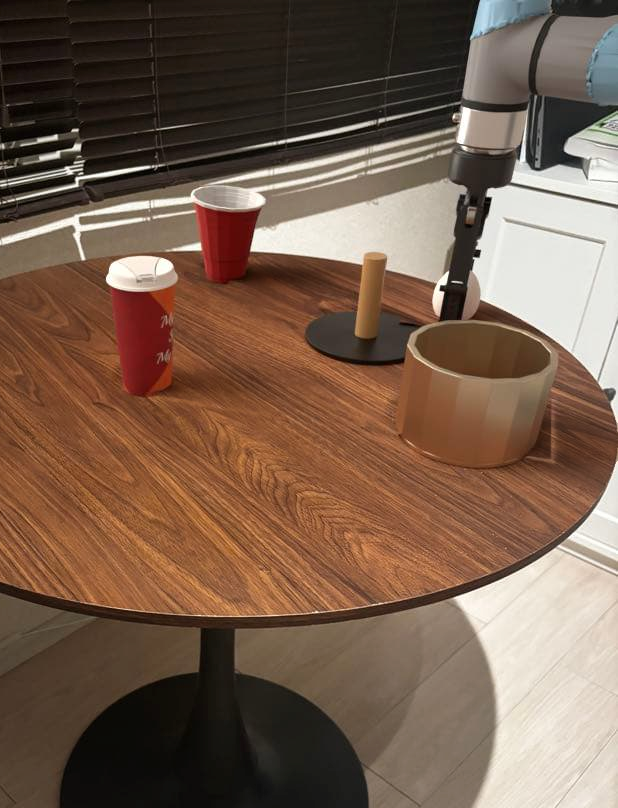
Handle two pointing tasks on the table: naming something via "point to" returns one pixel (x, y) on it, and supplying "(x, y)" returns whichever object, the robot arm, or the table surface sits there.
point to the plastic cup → (226, 228)
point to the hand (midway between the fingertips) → (450, 322)
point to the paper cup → (144, 321)
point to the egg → (471, 297)
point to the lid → (363, 324)
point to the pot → (474, 392)
